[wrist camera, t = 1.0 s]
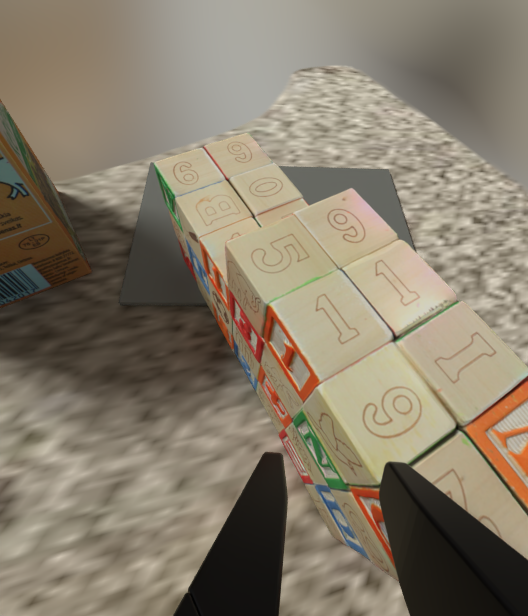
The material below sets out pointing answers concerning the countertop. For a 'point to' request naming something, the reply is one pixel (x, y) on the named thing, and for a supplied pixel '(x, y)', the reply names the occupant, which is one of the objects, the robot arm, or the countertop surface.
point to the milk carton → (32, 223)
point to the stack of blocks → (352, 345)
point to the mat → (165, 246)
